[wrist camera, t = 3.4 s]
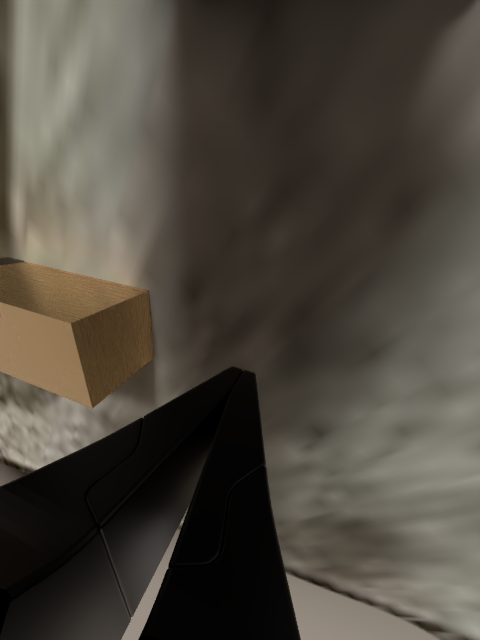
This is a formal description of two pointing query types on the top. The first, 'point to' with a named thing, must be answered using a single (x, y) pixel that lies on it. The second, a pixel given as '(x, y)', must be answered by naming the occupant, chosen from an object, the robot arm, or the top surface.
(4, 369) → the banded wooden block
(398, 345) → the top surface
